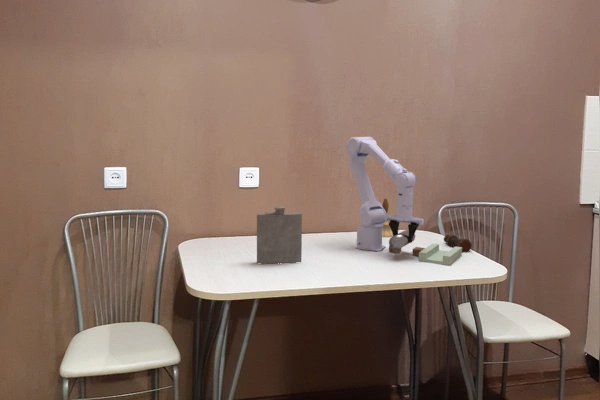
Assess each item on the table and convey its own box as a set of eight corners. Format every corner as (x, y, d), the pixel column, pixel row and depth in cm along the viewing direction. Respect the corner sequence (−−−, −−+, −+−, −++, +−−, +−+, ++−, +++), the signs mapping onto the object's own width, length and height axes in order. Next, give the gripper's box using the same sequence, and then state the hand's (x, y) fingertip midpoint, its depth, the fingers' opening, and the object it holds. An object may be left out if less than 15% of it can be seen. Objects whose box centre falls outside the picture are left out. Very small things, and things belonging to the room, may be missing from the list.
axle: (402, 250, 204) (402, 236, 203) (389, 249, 207) (388, 235, 206) (415, 242, 216) (415, 229, 215) (402, 241, 219) (402, 228, 218)
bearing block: (388, 252, 218) (389, 245, 218) (392, 250, 221) (392, 243, 221) (421, 256, 212) (421, 250, 211) (424, 254, 215) (425, 248, 215)
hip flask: (300, 260, 205) (301, 205, 202) (302, 263, 201) (303, 207, 198) (256, 262, 202) (256, 206, 199) (257, 265, 198) (257, 208, 195)
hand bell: (389, 238, 242) (391, 200, 239) (371, 235, 246) (373, 199, 243) (397, 234, 249) (398, 198, 246) (379, 232, 253) (381, 196, 250)
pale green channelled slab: (418, 260, 206) (419, 252, 205) (432, 251, 220) (432, 243, 219) (449, 265, 200) (450, 256, 200) (461, 255, 214) (462, 247, 213)
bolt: (448, 247, 234) (466, 255, 220) (438, 242, 233) (456, 249, 219) (455, 235, 234) (474, 242, 220) (445, 229, 233) (464, 236, 219)
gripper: (381, 204, 210) (380, 241, 212) (420, 208, 203) (418, 246, 205) (389, 202, 216) (387, 237, 218) (426, 206, 209) (424, 242, 211)
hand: (403, 241), depth 212 cm, fingers closed on axle, 5 cm apart
